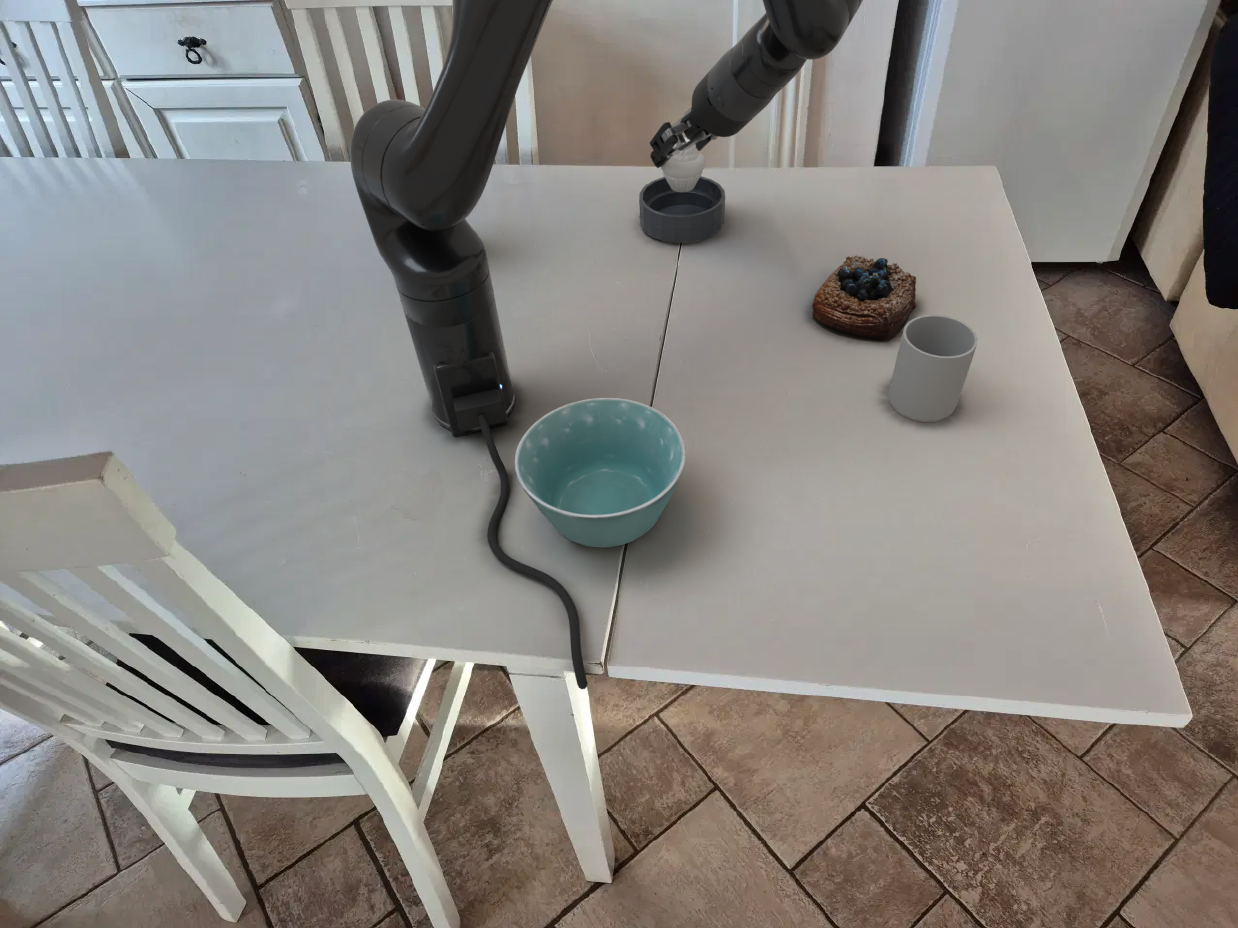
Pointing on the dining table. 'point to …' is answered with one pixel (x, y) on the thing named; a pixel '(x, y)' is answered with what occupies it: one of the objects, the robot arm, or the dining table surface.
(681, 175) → the white cupcake
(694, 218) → the grey shallow dish
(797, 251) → the dining table surface
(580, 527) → the bowl
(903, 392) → the cup
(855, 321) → the pastry
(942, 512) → the dining table surface
